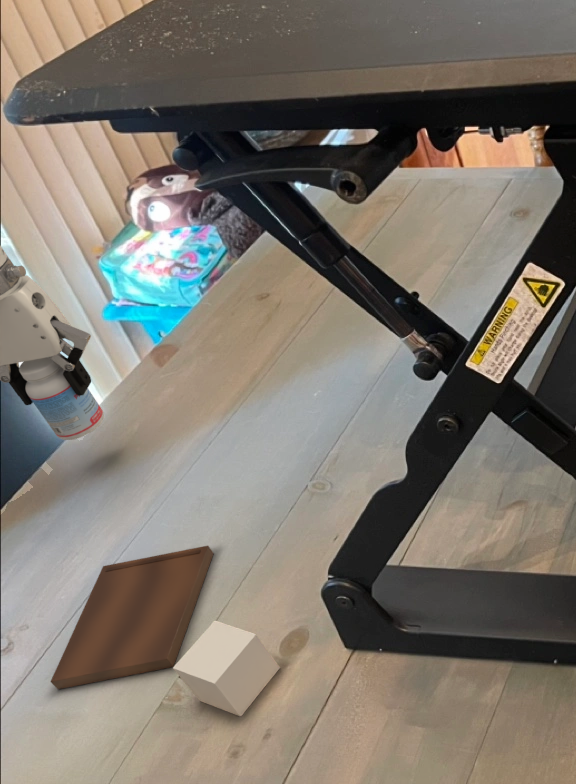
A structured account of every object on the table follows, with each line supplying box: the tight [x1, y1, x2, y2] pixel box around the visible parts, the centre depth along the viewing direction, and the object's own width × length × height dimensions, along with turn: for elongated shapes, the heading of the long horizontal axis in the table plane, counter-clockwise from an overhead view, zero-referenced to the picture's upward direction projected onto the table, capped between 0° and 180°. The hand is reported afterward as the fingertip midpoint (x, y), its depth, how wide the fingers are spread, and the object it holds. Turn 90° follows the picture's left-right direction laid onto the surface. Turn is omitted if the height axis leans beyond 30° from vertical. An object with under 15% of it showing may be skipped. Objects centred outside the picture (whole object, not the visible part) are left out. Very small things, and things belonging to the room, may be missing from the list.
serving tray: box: [50, 545, 214, 690], centre depth 121 cm, size 13×16×2 cm
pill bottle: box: [19, 357, 105, 441], centre depth 138 cm, size 6×6×11 cm
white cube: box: [172, 620, 281, 717], centre depth 110 cm, size 6×6×6 cm
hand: (58, 392), depth 138 cm, fingers closed on pill bottle, 6 cm apart
